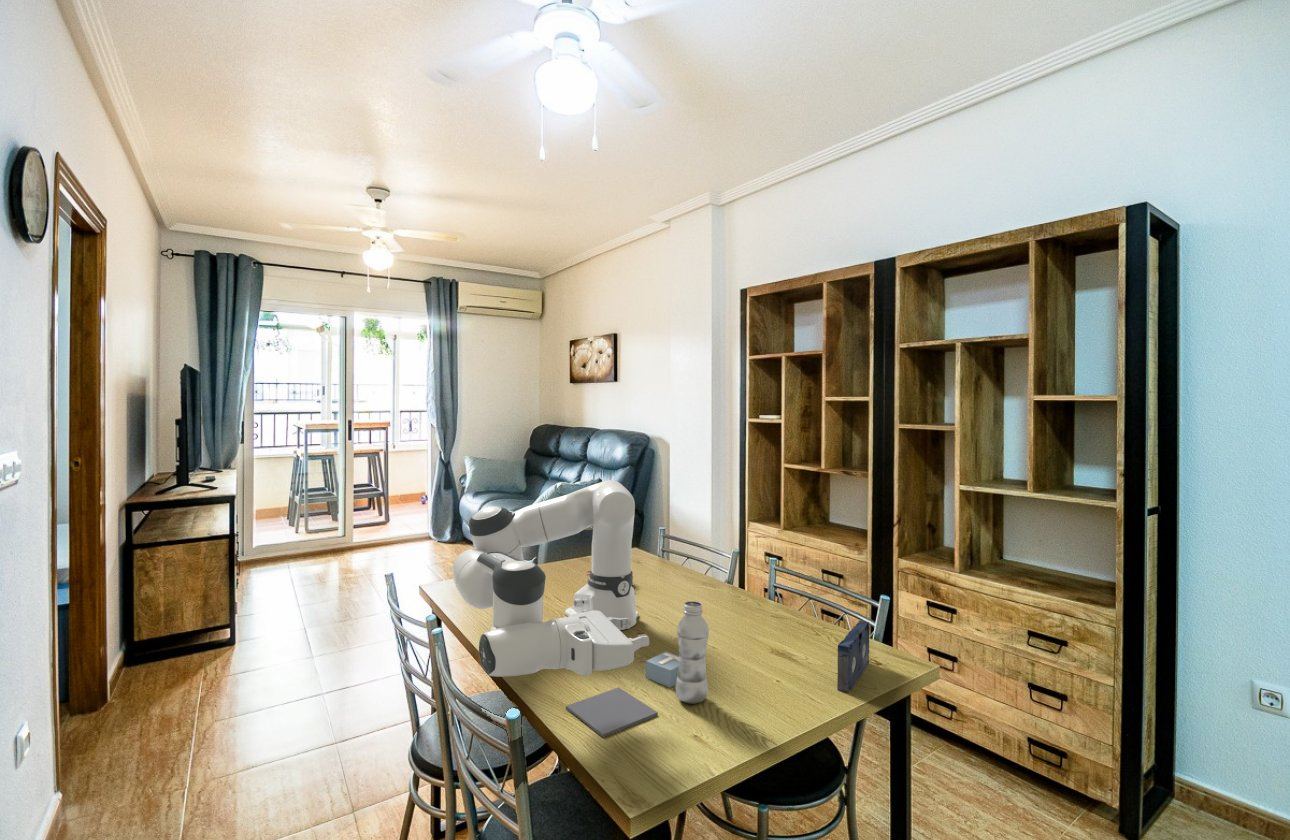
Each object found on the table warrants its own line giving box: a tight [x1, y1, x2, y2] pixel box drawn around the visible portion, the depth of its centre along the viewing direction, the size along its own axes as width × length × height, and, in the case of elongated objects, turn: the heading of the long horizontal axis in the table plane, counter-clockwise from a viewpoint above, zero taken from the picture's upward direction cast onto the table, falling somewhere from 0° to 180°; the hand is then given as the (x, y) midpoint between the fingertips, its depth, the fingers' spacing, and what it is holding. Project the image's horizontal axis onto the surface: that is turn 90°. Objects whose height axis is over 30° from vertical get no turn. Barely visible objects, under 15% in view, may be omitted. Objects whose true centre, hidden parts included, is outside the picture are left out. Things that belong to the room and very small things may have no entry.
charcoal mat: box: [565, 687, 659, 738], centre depth 118 cm, size 13×13×1 cm
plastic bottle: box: [674, 600, 710, 704], centre depth 123 cm, size 6×7×20 cm
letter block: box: [645, 651, 679, 689], centre depth 134 cm, size 7×7×4 cm
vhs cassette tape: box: [836, 620, 871, 694], centre depth 136 cm, size 18×3×10 cm, turn 145°
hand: (638, 630), depth 118 cm, fingers open, 8 cm apart
